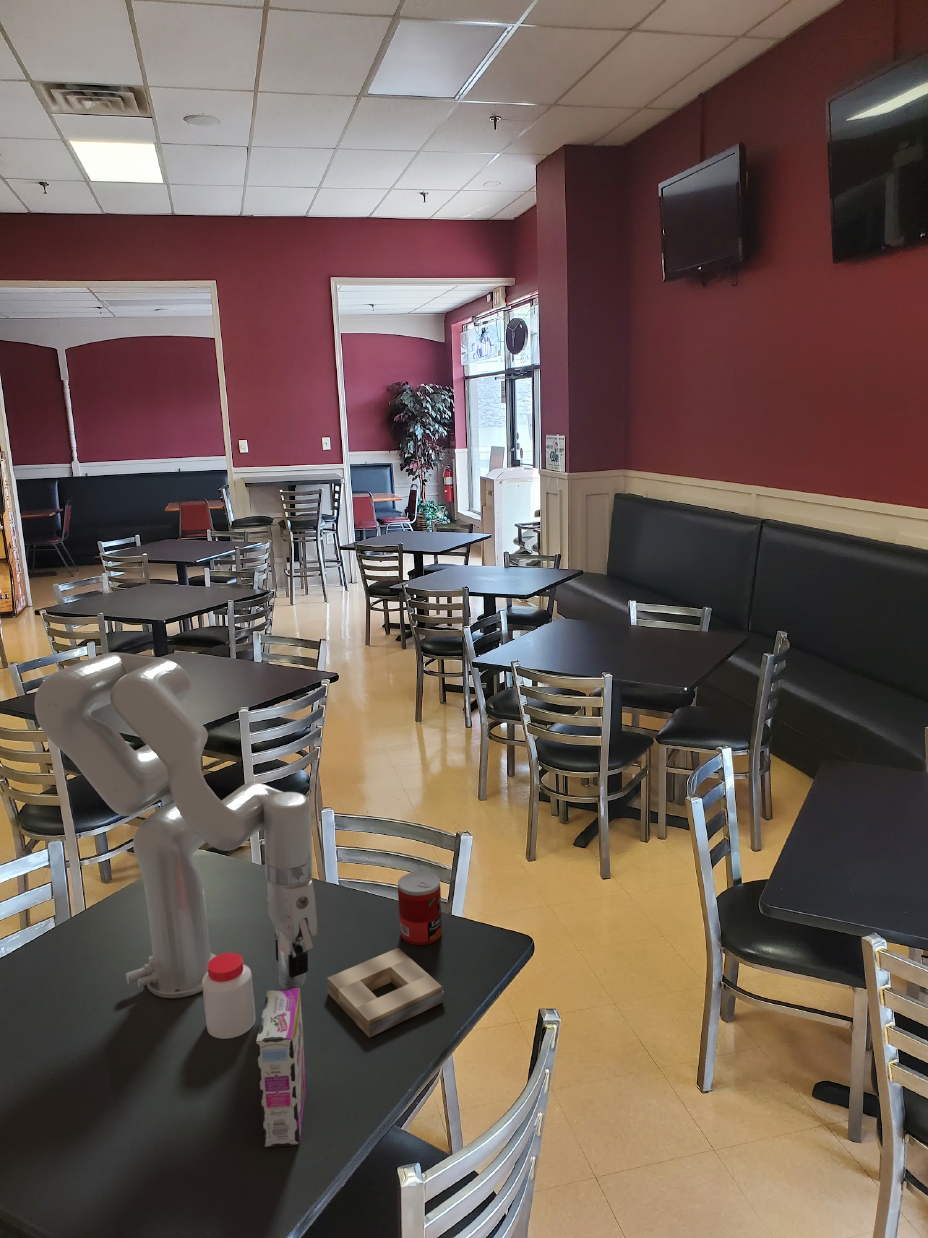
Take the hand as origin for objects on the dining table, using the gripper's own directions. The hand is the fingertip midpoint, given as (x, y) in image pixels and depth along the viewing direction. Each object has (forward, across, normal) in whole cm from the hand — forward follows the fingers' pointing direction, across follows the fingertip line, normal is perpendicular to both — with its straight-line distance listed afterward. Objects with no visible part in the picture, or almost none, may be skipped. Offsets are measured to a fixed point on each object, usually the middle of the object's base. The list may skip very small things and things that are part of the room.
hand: (291, 965), depth 148 cm
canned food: (+5, +2, -27) cm, 28 cm away
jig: (+5, -10, -12) cm, 17 cm away
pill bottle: (+6, 0, +11) cm, 13 cm away
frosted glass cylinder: (+3, 0, 0) cm, 3 cm away
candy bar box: (+5, -24, +12) cm, 28 cm away
